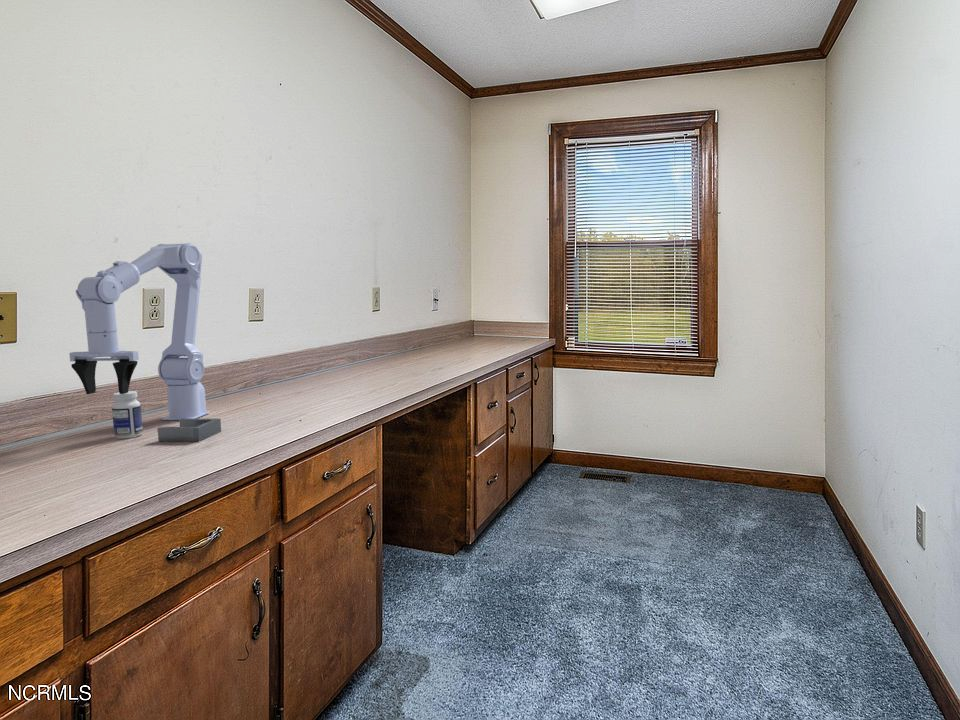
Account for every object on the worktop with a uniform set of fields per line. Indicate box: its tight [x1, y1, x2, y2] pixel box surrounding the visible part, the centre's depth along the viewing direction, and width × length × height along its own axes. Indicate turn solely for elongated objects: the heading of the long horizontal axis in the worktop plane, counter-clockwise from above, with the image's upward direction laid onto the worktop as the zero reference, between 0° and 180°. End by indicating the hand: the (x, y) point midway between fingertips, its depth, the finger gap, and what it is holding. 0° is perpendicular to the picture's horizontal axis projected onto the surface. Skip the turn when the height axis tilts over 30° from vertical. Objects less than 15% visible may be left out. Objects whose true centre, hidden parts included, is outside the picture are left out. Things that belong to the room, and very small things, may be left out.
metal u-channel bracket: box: [157, 418, 222, 443], centre depth 144 cm, size 10×9×3 cm
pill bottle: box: [111, 390, 144, 440], centre depth 145 cm, size 6×6×10 cm
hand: (107, 393), depth 142 cm, fingers open, 7 cm apart
